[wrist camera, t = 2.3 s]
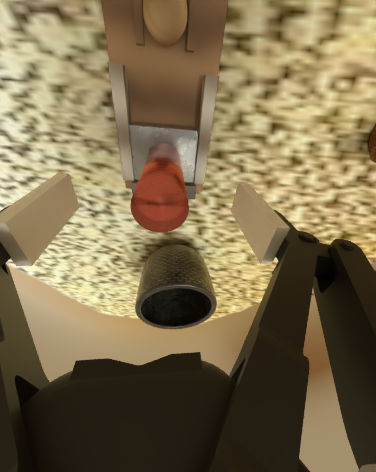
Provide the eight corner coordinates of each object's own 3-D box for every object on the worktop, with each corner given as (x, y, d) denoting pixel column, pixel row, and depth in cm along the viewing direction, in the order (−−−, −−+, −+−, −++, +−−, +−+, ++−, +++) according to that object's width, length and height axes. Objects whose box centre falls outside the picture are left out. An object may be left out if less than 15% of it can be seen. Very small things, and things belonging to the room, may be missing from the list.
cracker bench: (94, -95, 15) (27, -268, 8) (233, -66, 16) (281, -190, 9) (128, 182, 30) (115, 210, 22) (200, 186, 31) (209, 213, 24)
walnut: (162, -28, 16) (161, -58, 13) (194, 20, 18) (199, 4, 15) (137, 20, 18) (130, 4, 15) (168, 60, 20) (168, 52, 16)
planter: (135, 268, 42) (124, 323, 32) (158, 222, 35) (153, 275, 25) (187, 282, 47) (192, 334, 37) (217, 245, 40) (233, 296, 29)
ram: (134, 121, 23) (90, 151, 10) (194, 126, 23) (222, 160, 11) (138, 169, 26) (109, 236, 14) (190, 172, 27) (208, 238, 14)
